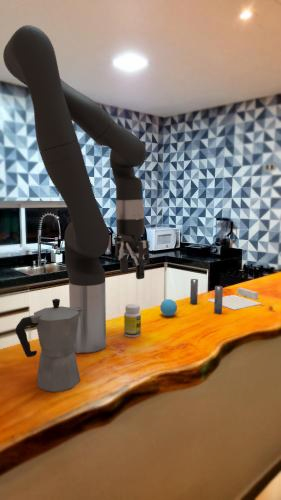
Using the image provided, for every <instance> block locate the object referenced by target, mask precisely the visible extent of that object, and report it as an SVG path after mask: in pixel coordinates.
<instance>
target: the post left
mask: <svg viewBox="0 0 281 500" xmlns="http://www.w3.org/2000/svg"><path fill="white" fill-rule="evenodd" d="M198 287H199V279H197V278H191V279H190V294H189V295H190V296H189V297H190V298H189V303H190V305H193V306H196V305H198V295H199V290H198Z"/></svg>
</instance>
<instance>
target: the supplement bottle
mask: <svg viewBox="0 0 281 500" xmlns="http://www.w3.org/2000/svg"><path fill="white" fill-rule="evenodd" d="M140 307H141V306H140V305H139V304H136V303H130V304H126V305H125V308H124V309H125V312H124V316H123V319H124V320H123V322H124V324H123V325H124V327H123V328H124V329H123V332H124V337H125V336H126V337H128V338H137V337H140V336H141V334H142V333H141V331H142V330H141V329H142V326H141V325H142V321H141V320H142V319H141V318H142V313H141V312H140V310H141V308H140Z"/></svg>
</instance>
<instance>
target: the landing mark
mask: <svg viewBox="0 0 281 500" xmlns="http://www.w3.org/2000/svg"><path fill="white" fill-rule="evenodd" d="M214 300H215V298H210V299H206V301H208V302H210V303H213V304H214ZM258 305H259V306H261V305H263V303H261V302H257V301H255V300H253V299H250V298H246V297H242V296H238V295H235V294H233V295H232V294H231V295H226V296H223V298H222V307H224V308H228V309H230V310H232V311H233V310H234V311H236V310H241V309H246V308H251V307H255V306H258Z"/></svg>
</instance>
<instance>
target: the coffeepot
mask: <svg viewBox="0 0 281 500" xmlns="http://www.w3.org/2000/svg"><path fill="white" fill-rule="evenodd" d="M51 301H52V306H51V307H45V308H42V309H40V310H37V311H34V312H33V315H28V316H25V317H22V318H21V319H20V320H19V322H18V324H17V325H16V327H15V334H16V337H17V339H18V340H19V341H18V342H19V343H20V345H21V348H22V350H23V352H24V355H25V356H26V358H32V357H35V356H36V355H37V354H38V351H37V350H33V351H32V350H31V344H30V342H29V340H28V336H27V333H26V330H25V329H26V328H27V327H34V326H36V331H37V336H38V341H39V342H38V343H39V346H40V348H41V350H40V351H41V352H40V353H39V361H38V368H37V375H36V382H37V383H38V384H37V387H38V388H39V389H40V390H42V391H44V392H49V393H50V392H51V393H58V392H60V393H61V392H64V391H68V390H71V389H72V388H74V387H75V386H77V385H78V383H79V382H80V381H81V378H80V377H81V376H80V371H79V366H78V361H77V355H76V352H75V351H74V344H75V343H76V335H77V327H78V320H79V316H80V314H81V312H82V311H83V310H84V309H82V308H80V307H70V306H60V303H61V300H60V299H59V298H54V299H52V300H51Z"/></svg>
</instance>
